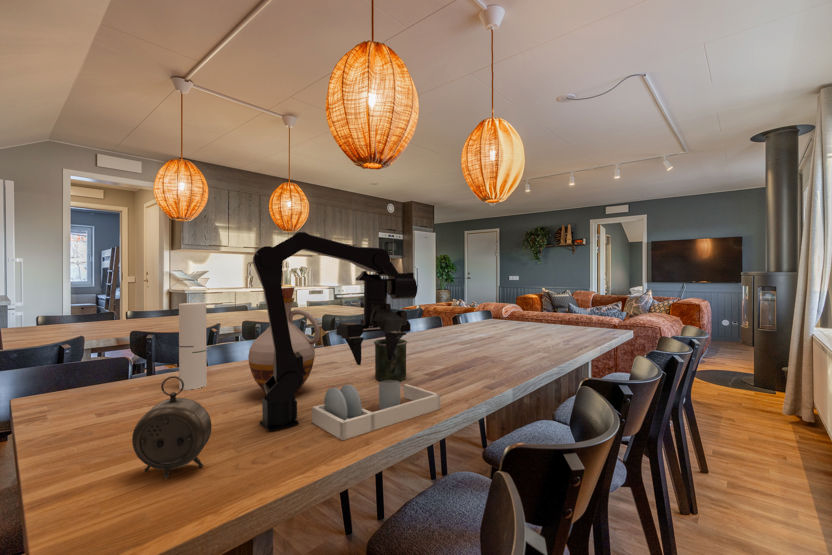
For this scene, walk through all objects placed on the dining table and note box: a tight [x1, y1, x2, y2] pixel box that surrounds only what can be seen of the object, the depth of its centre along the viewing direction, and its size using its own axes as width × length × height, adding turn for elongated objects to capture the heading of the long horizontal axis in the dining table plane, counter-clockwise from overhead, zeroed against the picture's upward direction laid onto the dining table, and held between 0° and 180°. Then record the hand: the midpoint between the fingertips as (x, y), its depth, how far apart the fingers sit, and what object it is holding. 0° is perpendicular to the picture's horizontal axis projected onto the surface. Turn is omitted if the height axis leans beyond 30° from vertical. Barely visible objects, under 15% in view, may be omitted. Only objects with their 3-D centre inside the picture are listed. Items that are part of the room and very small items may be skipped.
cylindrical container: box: [178, 302, 208, 391], centre depth 117 cm, size 7×7×25 cm
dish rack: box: [311, 383, 442, 441], centre depth 92 cm, size 28×13×9 cm, turn 132°
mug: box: [373, 338, 408, 382], centre depth 124 cm, size 11×15×12 cm
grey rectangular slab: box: [378, 380, 401, 411], centre depth 95 cm, size 5×5×7 cm
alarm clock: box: [131, 375, 212, 479], centre depth 65 cm, size 11×5×16 cm, turn 102°
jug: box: [247, 286, 321, 395], centre depth 111 cm, size 20×18×30 cm
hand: (374, 362), depth 96 cm, fingers open, 9 cm apart
